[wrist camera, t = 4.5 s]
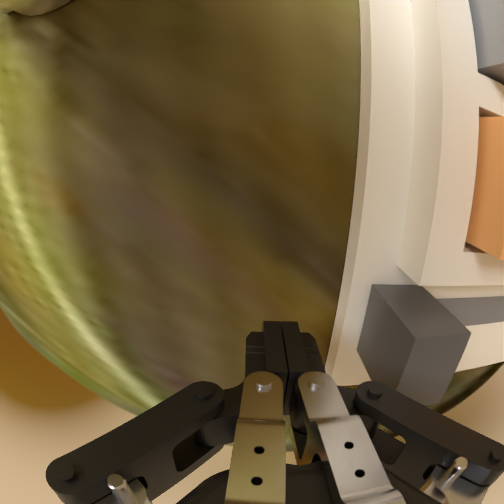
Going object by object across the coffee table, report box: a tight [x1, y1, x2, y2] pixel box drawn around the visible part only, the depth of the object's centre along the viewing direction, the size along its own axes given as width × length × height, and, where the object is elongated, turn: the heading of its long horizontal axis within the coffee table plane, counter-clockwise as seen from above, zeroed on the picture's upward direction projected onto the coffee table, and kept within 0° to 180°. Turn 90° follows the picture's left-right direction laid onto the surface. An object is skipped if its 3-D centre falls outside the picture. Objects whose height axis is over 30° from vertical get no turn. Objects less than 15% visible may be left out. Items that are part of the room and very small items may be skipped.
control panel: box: [325, 0, 504, 386], centre depth 13 cm, size 16×26×4 cm, turn 177°
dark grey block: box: [357, 284, 471, 406], centre depth 13 cm, size 3×4×5 cm
